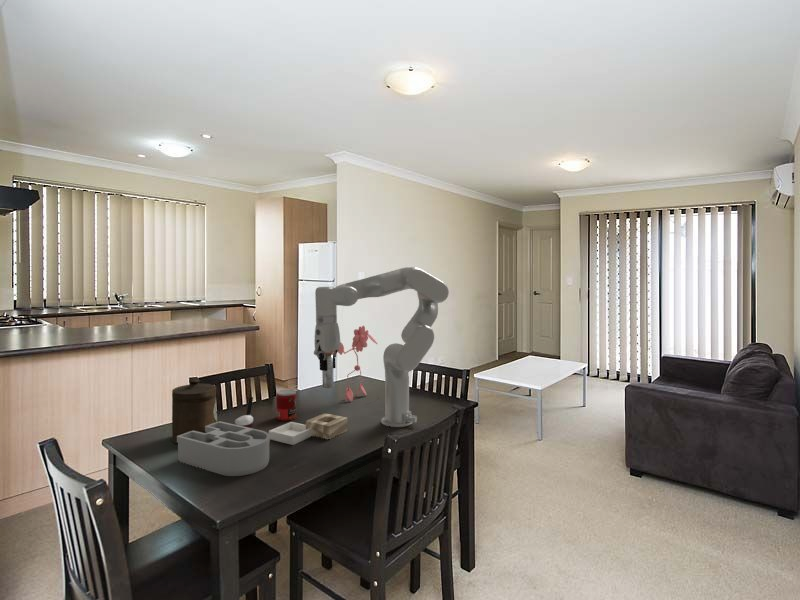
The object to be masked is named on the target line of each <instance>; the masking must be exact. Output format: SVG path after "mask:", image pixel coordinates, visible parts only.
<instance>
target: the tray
mask: <svg viewBox="0 0 800 600" xmlns="http://www.w3.org/2000/svg"><path fill="white" fill-rule="evenodd" d="M268 434H269V435H270V441H275V442H280V443H283V444H286V445H287V444H288V445H292V446H295V445H296V444H299V443H300V442H303V441H304V440H307V439H309V438H312V437H314V436H313V428H309V429H307V430H306V424H303V423H300V422H299V423H298V422H294V421H290V422H287V423H285V424H282V425H279V426H277V427H275V428H272V429H269V430H268ZM311 436H312V437H311Z"/></svg>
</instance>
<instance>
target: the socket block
mask: <svg viewBox="0 0 800 600" xmlns="http://www.w3.org/2000/svg"><path fill="white" fill-rule="evenodd" d="M305 425H306V430H307V429H309V428H313V436H312V437H315V436H316V438H319V437H321V438H320V439H324V438H325V440H328V439H330V440H332V439H334V438H336V437H338V436H339V435H342V434H344V433H346V432H347V431H348V425H349V423H348V417H347V416H346V417H345V416H342V415H341V416H340V415H336V414H330V413H326V412H325V413H322V414H320V415H317V416H315V417H313V418H310V419H307V420H305ZM337 435H338V436H337ZM335 436H336V437H335ZM333 437H334V438H333ZM331 438H332V439H331Z"/></svg>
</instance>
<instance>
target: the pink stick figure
mask: <svg viewBox="0 0 800 600" xmlns="http://www.w3.org/2000/svg"><path fill="white" fill-rule="evenodd" d="M353 334H354V337H352V344H351V347H352V348H350V349H348V350H347V351H345V347H344V345H343V343H342V342H341V341H340V348H339V350H338V351H337V353H338V354H339V355H343V354H344V355H345V354H347V353H349V352H351V351H354V354H355V356H356V362H357V363H356V365H354V367H353V368H354V370H352V371H351V372H349V373H348V374H347V378H349V375H351V374H352V373H354V372H355V371H356V372H358V371H359V374H360V375H359V376H360V379H362V372H361V367H360V365H359V356H358V353H359V352H363V350H364V348H367V347H368V340H369V339H370V340H371V341H372V342H373V344H376V345H378V342H377V341H376V339H374V337H373V336H372V335H371V334H369V330H366V327H365V325H362V326H358V328H356V329H353ZM347 386H348V387H346V389H345V396H344V397H343V400H344V399H345V400H346V398H347V399H348V400H349V402H350V403H352V401H353V399H354V392H353V390H352V389H351V388H350V383H349V379H347ZM360 390H361V391H362V392H363V394H364V395H365V396H366V395H367V396H368V394H367V392H366V389H365V388H364V386H363V385H362V383H359V387H358V389H357V391H356V394H355V396H358V395H359V391H360Z"/></svg>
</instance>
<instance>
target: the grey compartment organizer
mask: <svg viewBox="0 0 800 600" xmlns="http://www.w3.org/2000/svg"><path fill="white" fill-rule="evenodd" d="M205 432H206V433H202V432H197V431H190V432H187V433H184V434H181V435H179V436H177V442H178V444H177V457H178V458H177V460H178V462H179V461H180V462H179V463H181V462H183V463H182V464H184V463H186V464H185V465H188V464H189V466H191V465H192V467H194V466H195V467H196V468H198V467H199V468H198V469H201V468H202V469H201V470H204V469H205V470H204V471H208V472H212V473H215V474H218V475H222V476H227V477H240V476H241V477H242V476H247V475H252V474H254V473H257V472H260V471H262V470H263V469H265V468H266V467H267V466H268V464H269V462H270V443H271V442H270V441H271V439H270V435H269V432H267V431H264V430H261V429H256V428H253V427H252V428H248V427H243V426H239V425H235V423H234V424H233V423H229V422H225V421H218V420H217V422H216V423H213V424H210V425H207V426H205Z"/></svg>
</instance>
